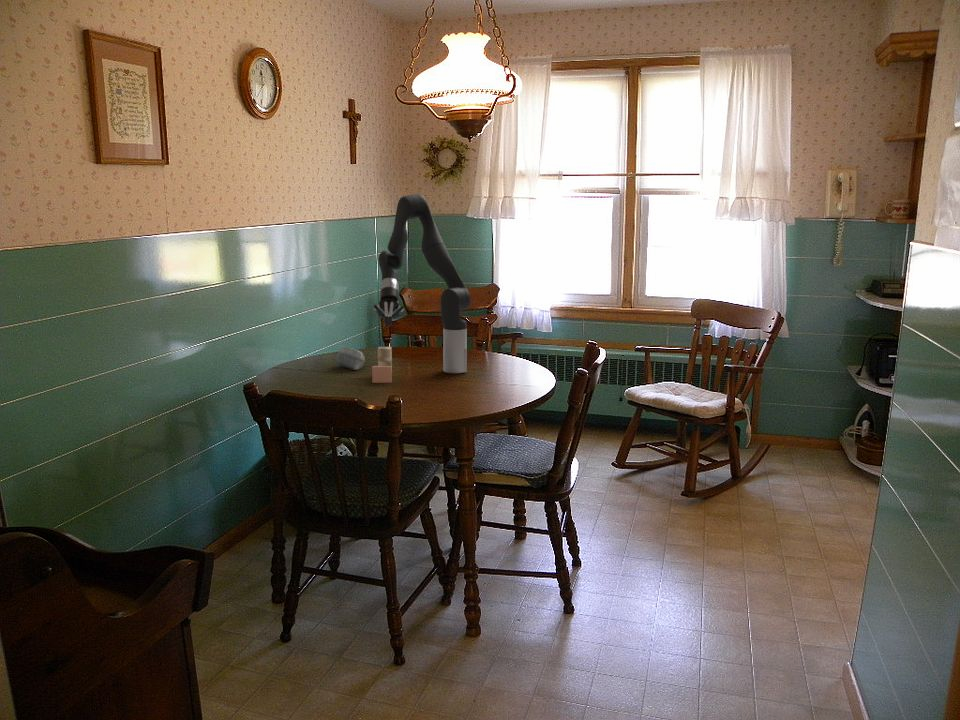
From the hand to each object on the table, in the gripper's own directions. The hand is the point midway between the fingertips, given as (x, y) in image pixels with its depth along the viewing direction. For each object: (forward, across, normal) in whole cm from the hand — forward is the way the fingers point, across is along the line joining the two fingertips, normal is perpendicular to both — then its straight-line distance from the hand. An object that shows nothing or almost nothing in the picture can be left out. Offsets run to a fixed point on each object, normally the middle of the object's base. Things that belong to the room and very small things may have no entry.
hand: (388, 326), depth 313 cm
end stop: (+32, -1, -12) cm, 34 cm away
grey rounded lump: (+16, -14, +8) cm, 23 cm away
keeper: (+25, 0, -3) cm, 25 cm away
